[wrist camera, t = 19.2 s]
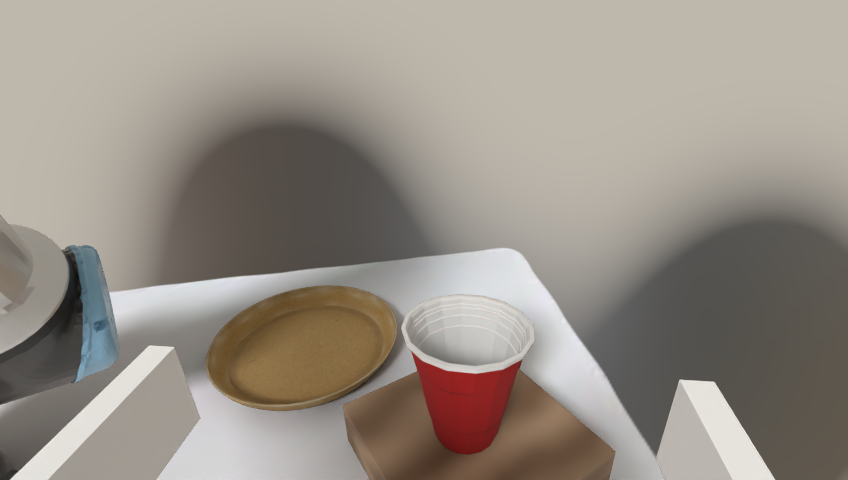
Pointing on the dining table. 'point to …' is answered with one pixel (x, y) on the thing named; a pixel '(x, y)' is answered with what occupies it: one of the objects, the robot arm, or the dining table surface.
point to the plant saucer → (301, 347)
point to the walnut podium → (481, 472)
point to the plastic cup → (467, 364)
